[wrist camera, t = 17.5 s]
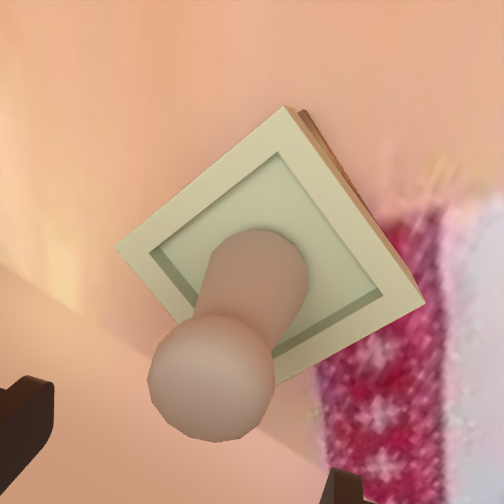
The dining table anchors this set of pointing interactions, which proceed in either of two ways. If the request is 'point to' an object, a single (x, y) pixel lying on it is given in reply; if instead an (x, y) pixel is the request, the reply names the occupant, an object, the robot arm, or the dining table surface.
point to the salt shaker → (230, 338)
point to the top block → (289, 227)
